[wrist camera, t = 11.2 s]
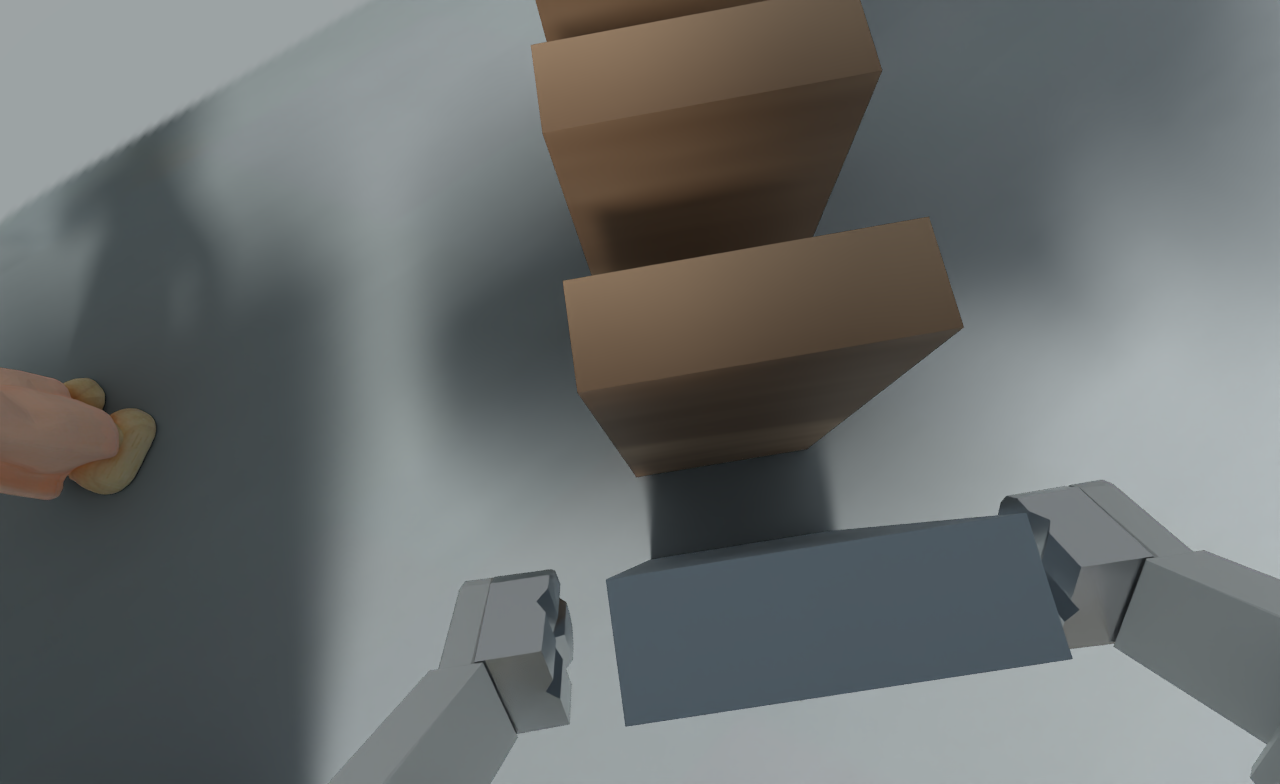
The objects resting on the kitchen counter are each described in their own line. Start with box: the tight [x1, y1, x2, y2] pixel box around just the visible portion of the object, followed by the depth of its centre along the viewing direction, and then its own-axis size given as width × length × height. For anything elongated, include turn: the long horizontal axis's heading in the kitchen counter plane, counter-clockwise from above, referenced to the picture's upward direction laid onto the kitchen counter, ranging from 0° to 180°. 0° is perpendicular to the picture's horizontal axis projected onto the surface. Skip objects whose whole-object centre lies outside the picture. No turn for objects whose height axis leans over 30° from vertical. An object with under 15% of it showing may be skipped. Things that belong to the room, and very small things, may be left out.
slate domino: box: [606, 513, 1073, 726], centre depth 12 cm, size 2×5×10 cm, turn 99°
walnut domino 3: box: [563, 217, 964, 477], centre depth 13 cm, size 2×5×10 cm, turn 99°
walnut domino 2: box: [531, 0, 882, 276], centre depth 14 cm, size 2×5×10 cm, turn 99°
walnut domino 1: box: [536, 0, 768, 42], centre depth 15 cm, size 2×5×10 cm, turn 99°
